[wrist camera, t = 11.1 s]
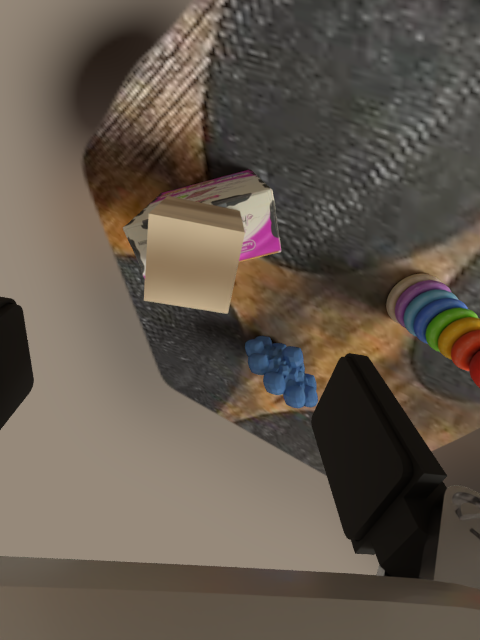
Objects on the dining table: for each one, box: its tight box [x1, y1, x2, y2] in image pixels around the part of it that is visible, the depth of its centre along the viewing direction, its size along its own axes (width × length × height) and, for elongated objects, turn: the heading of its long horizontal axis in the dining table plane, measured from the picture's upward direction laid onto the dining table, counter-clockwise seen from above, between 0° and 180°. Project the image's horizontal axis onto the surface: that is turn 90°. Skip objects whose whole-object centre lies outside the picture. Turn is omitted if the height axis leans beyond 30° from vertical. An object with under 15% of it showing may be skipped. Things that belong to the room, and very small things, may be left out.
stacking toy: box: [386, 274, 480, 388], centre depth 36 cm, size 8×8×19 cm
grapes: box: [245, 336, 318, 408], centre depth 42 cm, size 12×7×12 cm, turn 58°
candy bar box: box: [123, 170, 281, 278], centre depth 29 cm, size 11×5×16 cm, turn 104°
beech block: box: [144, 196, 245, 314], centre depth 19 cm, size 5×5×6 cm
